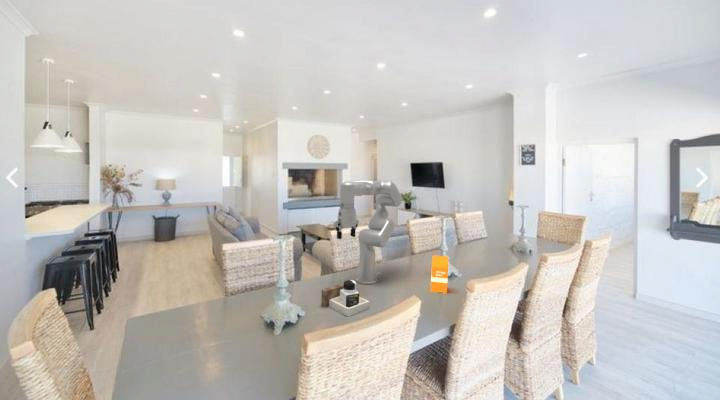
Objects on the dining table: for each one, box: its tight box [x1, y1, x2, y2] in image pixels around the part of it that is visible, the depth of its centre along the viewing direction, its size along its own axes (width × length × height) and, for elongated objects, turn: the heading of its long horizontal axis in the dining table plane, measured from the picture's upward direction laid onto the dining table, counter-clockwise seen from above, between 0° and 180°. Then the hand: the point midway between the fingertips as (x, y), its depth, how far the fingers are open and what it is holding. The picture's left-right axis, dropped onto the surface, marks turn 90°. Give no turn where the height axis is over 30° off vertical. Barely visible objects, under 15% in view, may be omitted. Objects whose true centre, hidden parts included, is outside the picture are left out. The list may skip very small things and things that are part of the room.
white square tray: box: [328, 296, 371, 317], centre depth 157 cm, size 14×14×4 cm
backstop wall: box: [320, 282, 344, 308], centre depth 164 cm, size 18×3×8 cm, turn 134°
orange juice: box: [430, 254, 449, 294], centre depth 183 cm, size 8×9×20 cm
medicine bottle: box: [340, 279, 360, 308], centre depth 157 cm, size 7×7×12 cm
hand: (346, 237), depth 174 cm, fingers open, 9 cm apart
